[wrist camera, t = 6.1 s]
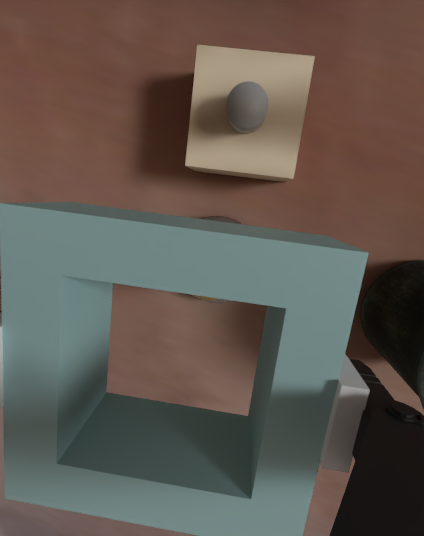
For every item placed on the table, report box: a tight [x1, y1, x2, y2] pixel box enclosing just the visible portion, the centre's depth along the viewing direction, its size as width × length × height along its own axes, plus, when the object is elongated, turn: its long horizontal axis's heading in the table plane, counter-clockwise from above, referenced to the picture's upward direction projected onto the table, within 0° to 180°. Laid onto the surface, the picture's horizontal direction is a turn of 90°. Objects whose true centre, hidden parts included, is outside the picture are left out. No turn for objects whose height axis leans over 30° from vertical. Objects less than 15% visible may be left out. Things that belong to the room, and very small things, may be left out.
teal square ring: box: [0, 202, 369, 536], centre depth 12 cm, size 10×10×4 cm
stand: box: [185, 45, 315, 182], centre depth 25 cm, size 8×8×7 cm
